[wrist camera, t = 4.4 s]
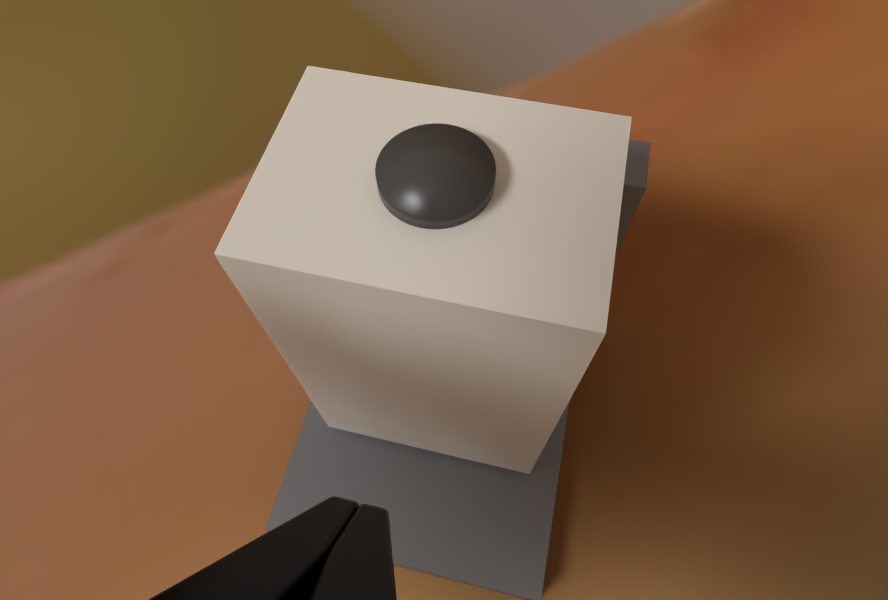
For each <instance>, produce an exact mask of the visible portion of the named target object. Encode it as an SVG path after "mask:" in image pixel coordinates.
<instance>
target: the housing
mask: <svg viewBox="0 0 888 600" xmlns="http://www.w3.org/2000/svg"><path fill="white" fill-rule="evenodd" d="M649 151H650V143H646V142H640V141H634V140H629V144H628V152H627V161H626V169H625V177H624V186H623V194H622V203H621V211H620V219H619V228H618V236H617V245H616V253H617V251H618V249H619V247H620V244H621V242H622V240H623V238H624V235H625V233H626V231H627V229H628V227H629V224H630V222H631V220H632V218H633V216H634V213H635V211H636V209H637V207H638V205H639V202H640V200H641V198H642V196H643V194H644V191H645V189H646V182H647V172H648V162H649ZM616 253H615V255H616ZM568 408H569V402H568V404H567V406H566V408H565V410H564V412H563V413H562V415H561V417H560V419H559V421H558V423H557V424H556V426H555V428H554V430H553V432H552V434H551V435H550V437H549V439H548V441H547V443H546V445H545V446H544V448H543V450H542V452H541V454H540V456H539V457H538V459H537V461H536V463H535V465H534V467H533V468H532V470H531V472H530V474H527V473H523V472H518V471H514V470H510V469H506V468H501V467H497V466H493V465H489V464H484V463H480V462H476V461H472V460H468V459H463V458H459V457H455V456H451V455H446V454H442V453H438V452H434V451H429V450H425V449H421V448H417V447H412V446H408V445H404V444H400V443H396V442H391V441H387V440H383V439H379V438H374V437H370V436H366V435H362V434H357V433H353V432H349V431H345V430H341V429H336V428H332V427H328V425H327V424H326V422H325V421H324V419H323V418H322V416H321V415H320V413H319V412H318V410H317V409H316V407H315V406H314V404H313V403H312V401H311V404H310V407H309V410H308V413H307V415H306V418H305V421H304V424H303V427H302V429H301V432H300V435H299V438H298V441H297V443H296V446H295V449H294V452H293V455H292V457H291V460H290V463H289V466H288V469H287V471H286V474H285V477H284V480H283V483H282V485H281V488H280V491H279V494H278V497H277V499H276V502H275V505H274V508H273V511H272V513H271V516H270V519H269V522H268V525H267V527H266V529H267V530H269V531H271V530H273V529H274V528H276V527H278V526H280V525H282V524H283V523H285V522H287V521H289V520H290V519H292V518H294V517H296V516H297V515H299V514H301V513H303V512H304V511H306V510H308V509H310V508H312V507H313V506H315V505H317V504H319V503H320V502H322V501H324V500H326V499H327V498H329V497H332V496H337V497H341V498H345V499H349V500H353V501H356V502H358V503H359V506H360V505H361V504H369V505H373V506H377V507H381V508H385V509H386V510H388V513H389V522H390V533H391V544H392V555H393V565H397V566H401V567H405V568H408V569H412V570H416V571H420V572H424V573H428V574H431V575H435V576H439V577H443V578H447V579H450V580H454V581H458V582H462V583H466V584H469V585H473V586H477V587H481V588H485V589H488V590H492V591H496V592H500V593H504V594H507V595H511V596H515V597H519V598H523V599H527V600H541V597H542V590H543V583H544V576H545V569H546V562H547V555H548V548H549V541H550V534H551V527H552V520H553V513H554V506H555V499H556V492H557V485H558V478H559V471H560V464H561V457H562V450H563V443H564V436H565V429H566V422H567V415H568Z"/></svg>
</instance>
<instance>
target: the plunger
mask: <svg viewBox="0 0 888 600" xmlns="http://www.w3.org/2000/svg"><path fill="white" fill-rule="evenodd" d="M631 118H632V117H628V116H622V115H616V114H609V113H603V112H597V111H591V110H584V109H578V108H572V107H565V106H559V105H553V104H546V103H540V102H534V101H527V100H521V99H515V98H508V97H502V96H496V95H489V94H483V93H477V92H470V91H464V90H458V89H451V88H444V87H438V86H432V85H425V84H420V83H413V82H407V81H401V80H394V79H388V78H381V77H375V76H369V75H363V74H356V73H350V72H344V71H337V70H331V69H324V68H318V67H312V66H307V68H306V70H305V72H304V75H303V76H302V78H301V80H300V82H299V84H298V86H297V89H296V91H295V92H294V94H293V96H292V99H291V101H290V102H289V104H288V106H287V108H286V111H285V112H284V115H283V116H282V119H281V121H280V122H279V124H278V127H277V128H276V131H275V133H274V134H273V136H272V139H271V141H270V142H269V144H268V146H267V148H266V151H265V153H264V154H263V156H262V158H261V160H260V162H259V164H258V166H257V168H256V170H255V172H254V174H253V176H252V178H251V180H250V182H249V184H248V186H247V188H246V190H245V192H244V194H243V196H242V198H241V200H240V202H239V204H238V206H237V208H236V210H235V212H234V214H233V216H232V218H231V220H230V222H229V224H228V226H227V228H226V230H225V232H224V234H223V236H222V238H221V240H220V242H219V244H218V246H217V248H216V250H215V252H214V255H215V257H216V258H217V260H218V261H219V263H220V264H221V266H222V267H223V269H224V270H225V272H226V273H227V275H228V276H229V278H230V279H231V281H232V282H233V284H234V285H235V287H236V288H237V290H238V291H239V293H240V294H241V296H242V297H243V299H244V300H245V302H246V303H247V305H248V306H249V308H250V309H251V311H252V312H253V314H254V315H255V317H256V318H257V320H258V321H259V323H260V324H261V326H262V327H263V329H264V330H265V332H266V333H267V335H268V336H269V338H270V339H271V341H272V342H273V344H274V345H275V347H276V348H277V350H278V351H279V353H280V354H281V356H282V357H283V359H284V360H285V362H286V363H287V365H288V366H289V368H290V369H291V371H292V372H293V374H294V375H295V377H296V378H297V380H298V381H299V383H300V384H301V386H302V387H303V389H304V390H305V392H306V393H307V395H308V396H309V398H310V399H311V401H312V403H313V404H314V406H315V407H316V409H317V410H318V412H319V413H320V415H321V416H322V418H323V419H324V421H325V422H326V424H327V425H328V427H332V428H336V429H341V430H345V431H349V432H353V433H357V434H362V435H366V436H370V437H374V438H379V439H383V440H387V441H391V442H396V443H400V444H404V445H408V446H412V447H417V448H421V449H425V450H429V451H434V452H438V453H442V454H446V455H451V456H455V457H459V458H463V459H468V460H472V461H476V462H480V463H484V464H489V465H493V466H497V467H501V468H506V469H510V470H514V471H518V472H523V473H527V474H530V472H531V470H532V468H533V467H534V465H535V463H536V461H537V459H538V457H539V456H540V454H541V452H542V450H543V448H544V446H545V445H546V443H547V441H548V439H549V437H550V435H551V434H552V432H553V430H554V428H555V426H556V424H557V423H558V421H559V419H560V417H561V415H562V413H563V412H564V410H565V408H566V406H567V404H568V402H569V401H570V399H571V397H572V395H573V393H574V391H575V390H576V388H577V386H578V384H579V382H580V380H581V379H582V377H583V375H584V373H585V371H586V369H587V368H588V366H589V364H590V362H591V360H592V358H593V357H594V355H595V353H596V351H597V349H598V347H599V346H600V344H601V342H602V340H603V338H604V336H605V335H606V329H607V320H608V312H609V304H610V295H611V287H612V278H613V270H614V261H615V253H616V245H617V236H618V228H619V219H620V211H621V203H622V194H623V186H624V177H625V169H626V161H627V152H628V144H629V135H630V127H631Z"/></svg>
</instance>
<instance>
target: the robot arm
mask: <svg viewBox="0 0 888 600" xmlns="http://www.w3.org/2000/svg"><path fill="white" fill-rule="evenodd" d="M149 600H397V599H396V588H395V577H394V566H393V555H392V544H391V533H390V522H389V513H388V510H386V509H385V508H381V507H377V506H373V505H369V504H361V505H360V506H359V503H358V502H356V501H353V500H349V499H345V498H341V497H337V496H332V497H329V498H327V499H326V500H324V501H322V502H320V503H319V504H317V505H315V506H313V507H312V508H310V509H308V510H306V511H304V512H303V513H301V514H299V515H297V516H296V517H294V518H292V519H290V520H289V521H287V522H285V523H283V524H282V525H280V526H278V527H276V528H274V529H273V530H271V531H269V532H267V533H266V534H264V535H262V536H260V537H259V538H257V539H255V540H253V541H251V542H250V543H248V544H246V545H244V546H243V547H241V548H239V549H237V550H236V551H234V552H232V553H230V554H229V555H227V556H225V557H223V558H221V559H220V560H218V561H216V562H214V563H213V564H211V565H209V566H207V567H206V568H204V569H202V570H200V571H198V572H197V573H195V574H193V575H191V576H190V577H188V578H186V579H184V580H183V581H181V582H179V583H177V584H176V585H174V586H172V587H170V588H168V589H167V590H165V591H163V592H161V593H160V594H158V595H156V596H154V597H153V598H151V599H149Z"/></svg>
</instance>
